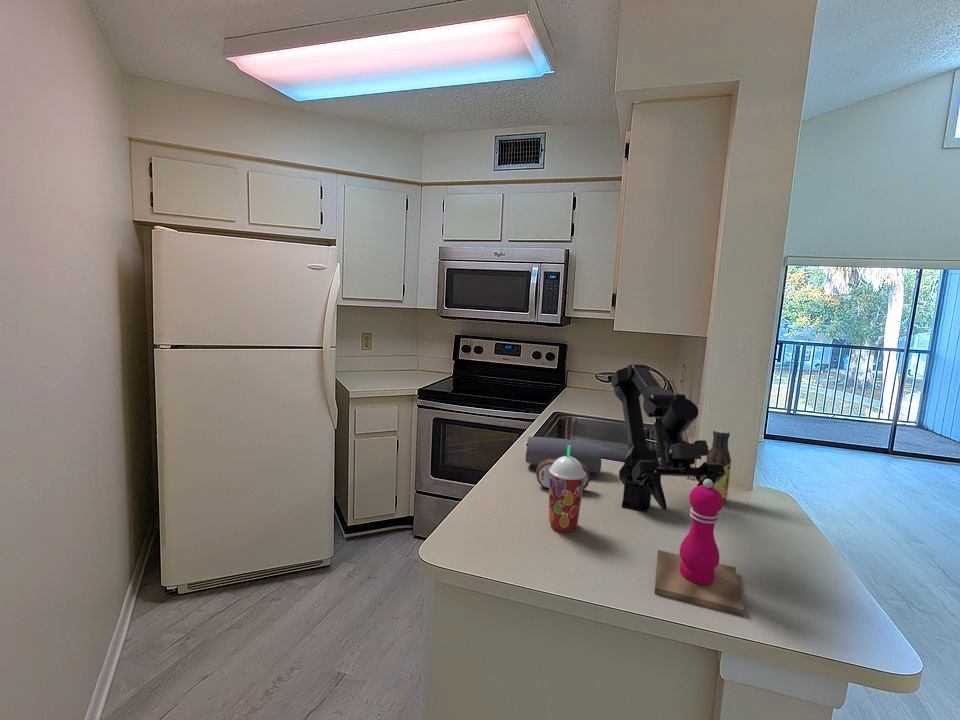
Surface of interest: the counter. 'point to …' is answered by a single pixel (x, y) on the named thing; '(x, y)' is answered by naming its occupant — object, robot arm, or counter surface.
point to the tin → (543, 473)
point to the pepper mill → (701, 535)
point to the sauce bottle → (721, 459)
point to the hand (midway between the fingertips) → (686, 510)
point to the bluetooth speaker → (563, 451)
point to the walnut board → (699, 585)
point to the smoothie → (565, 492)
